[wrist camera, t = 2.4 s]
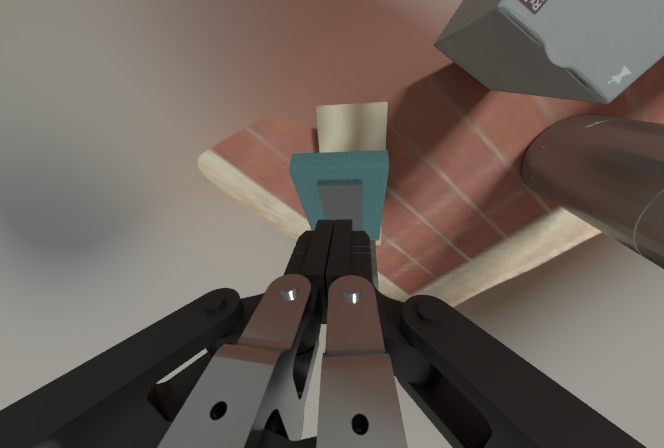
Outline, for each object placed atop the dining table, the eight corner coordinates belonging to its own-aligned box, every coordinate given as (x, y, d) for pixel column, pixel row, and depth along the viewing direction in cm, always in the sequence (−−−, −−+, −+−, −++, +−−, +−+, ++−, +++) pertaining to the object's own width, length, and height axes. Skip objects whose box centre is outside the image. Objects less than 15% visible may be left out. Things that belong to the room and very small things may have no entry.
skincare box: (544, 27, 23) (817, -59, 9) (483, 99, 26) (615, 114, 13) (479, -35, 21) (692, -251, 8) (423, 50, 25) (499, 8, 11)
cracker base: (386, 101, 27) (403, 112, 16) (380, 239, 37) (387, 305, 26) (317, 105, 28) (290, 119, 17) (328, 239, 38) (315, 302, 27)
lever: (377, 123, 20) (389, 155, 11) (372, 274, 29) (377, 363, 20) (319, 126, 21) (287, 158, 12) (331, 273, 30) (318, 359, 20)
